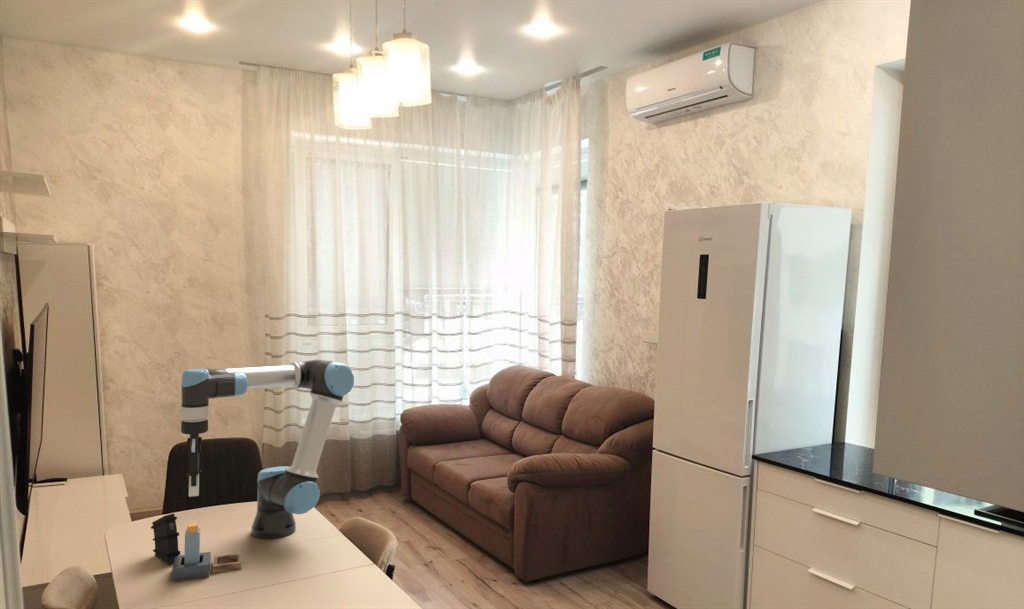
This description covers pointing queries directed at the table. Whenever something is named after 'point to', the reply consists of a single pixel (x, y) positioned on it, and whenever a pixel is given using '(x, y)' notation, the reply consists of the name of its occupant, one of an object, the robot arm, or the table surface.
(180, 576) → the port
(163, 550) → the magazine
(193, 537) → the plug
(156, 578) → the table surface
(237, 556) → the brown square frame
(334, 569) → the table surface
